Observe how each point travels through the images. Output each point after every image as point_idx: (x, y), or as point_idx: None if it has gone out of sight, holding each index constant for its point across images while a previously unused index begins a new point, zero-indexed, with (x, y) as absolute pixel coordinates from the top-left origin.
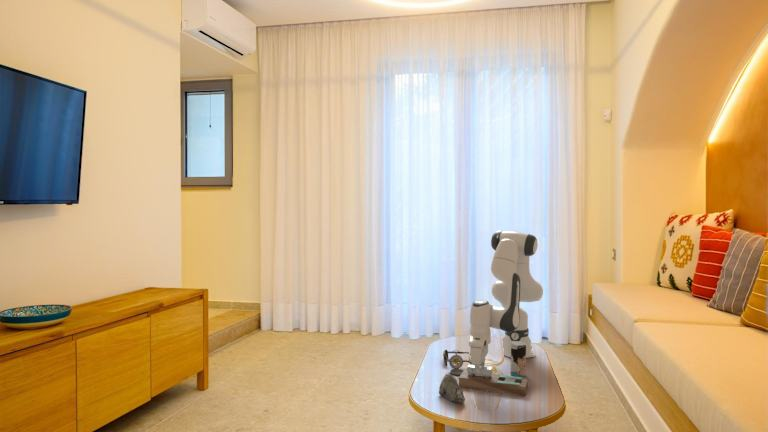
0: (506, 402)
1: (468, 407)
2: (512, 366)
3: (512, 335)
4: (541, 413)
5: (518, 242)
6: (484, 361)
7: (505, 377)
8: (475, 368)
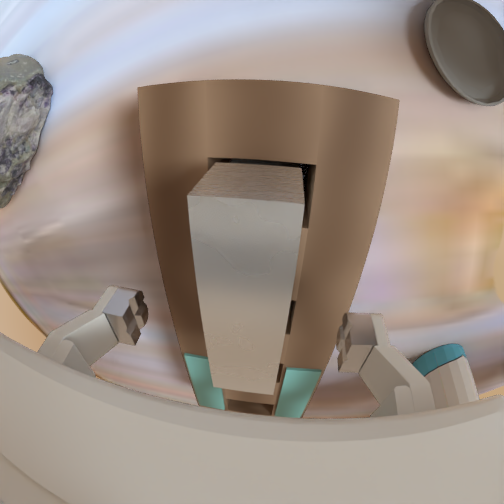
0: None
1: (10, 216)
2: (439, 391)
3: None
4: (120, 383)
5: None
6: (367, 381)
7: (282, 384)
8: (81, 317)
